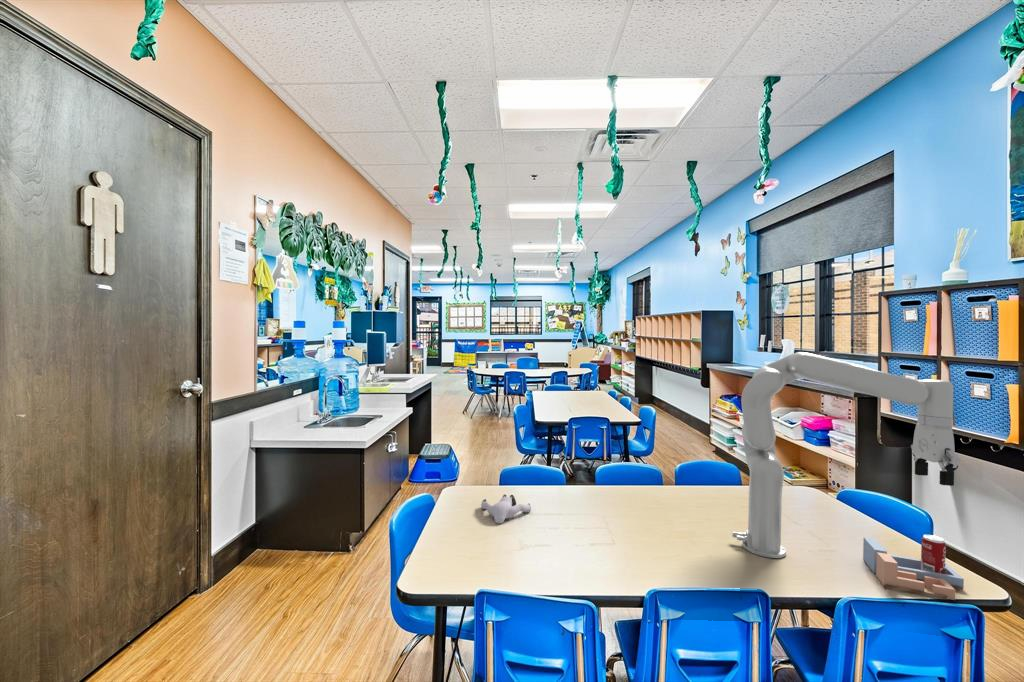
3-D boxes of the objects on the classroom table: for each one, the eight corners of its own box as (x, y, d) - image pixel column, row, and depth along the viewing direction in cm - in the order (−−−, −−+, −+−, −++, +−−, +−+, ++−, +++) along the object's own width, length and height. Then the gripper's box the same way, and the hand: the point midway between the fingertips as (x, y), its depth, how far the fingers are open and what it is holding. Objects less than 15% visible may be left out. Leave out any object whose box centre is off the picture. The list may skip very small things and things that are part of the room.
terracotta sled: (883, 585, 127) (884, 561, 127) (876, 575, 132) (876, 552, 132) (924, 593, 123) (925, 567, 123) (914, 582, 129) (915, 558, 129)
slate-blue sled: (873, 572, 134) (874, 549, 134) (863, 558, 143) (863, 537, 143) (963, 588, 126) (964, 564, 126) (946, 573, 135) (946, 549, 135)
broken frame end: (933, 596, 123) (933, 585, 123) (923, 585, 128) (923, 575, 128) (955, 600, 121) (955, 589, 121) (944, 589, 126) (944, 579, 126)
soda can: (932, 573, 135) (933, 533, 135) (949, 582, 130) (951, 541, 130) (915, 573, 135) (916, 533, 135) (932, 582, 130) (933, 541, 130)
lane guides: (885, 588, 126) (885, 584, 126) (862, 558, 144) (862, 555, 144) (978, 606, 118) (979, 602, 118) (942, 572, 136) (942, 569, 136)
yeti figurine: (488, 506, 186) (469, 524, 167) (488, 490, 186) (468, 506, 167) (534, 509, 179) (519, 528, 160) (533, 492, 180) (518, 509, 161)
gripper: (900, 416, 141) (899, 470, 141) (942, 426, 124) (941, 488, 124) (927, 417, 140) (926, 472, 140) (974, 428, 123) (973, 490, 123)
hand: (933, 479), depth 132 cm, fingers open, 9 cm apart
